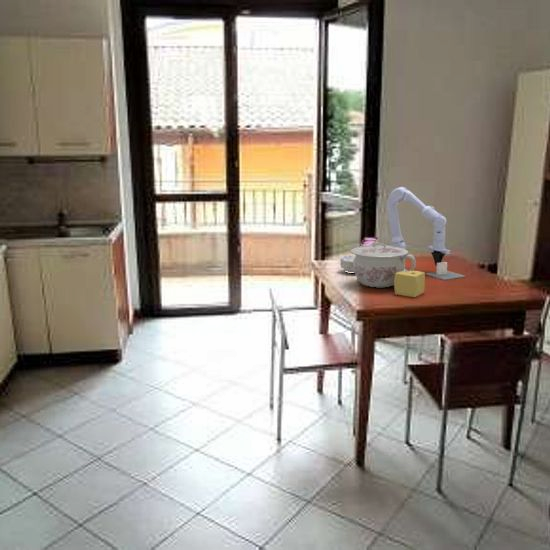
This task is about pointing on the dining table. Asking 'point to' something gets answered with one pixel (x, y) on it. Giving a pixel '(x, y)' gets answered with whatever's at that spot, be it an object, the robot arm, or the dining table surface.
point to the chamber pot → (379, 264)
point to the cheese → (409, 283)
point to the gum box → (369, 241)
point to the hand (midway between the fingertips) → (437, 265)
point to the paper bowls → (347, 263)
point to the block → (441, 268)
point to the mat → (446, 275)
